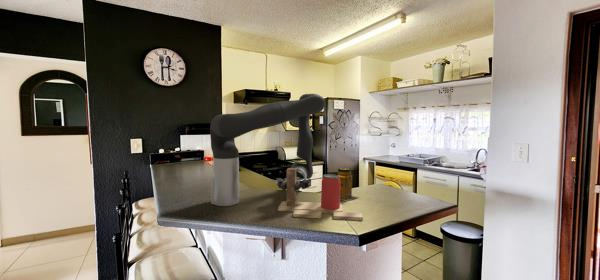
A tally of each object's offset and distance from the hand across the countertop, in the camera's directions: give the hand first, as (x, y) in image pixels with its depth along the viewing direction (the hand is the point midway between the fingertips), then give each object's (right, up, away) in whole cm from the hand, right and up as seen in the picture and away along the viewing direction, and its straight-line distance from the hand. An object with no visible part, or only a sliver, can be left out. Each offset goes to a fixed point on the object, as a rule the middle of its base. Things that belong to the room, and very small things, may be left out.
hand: (289, 188), depth 90 cm
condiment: (+22, -7, +17) cm, 29 cm away
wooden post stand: (+7, -8, +3) cm, 11 cm away
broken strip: (+12, -8, -5) cm, 16 cm away
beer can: (+14, -8, +2) cm, 16 cm away
